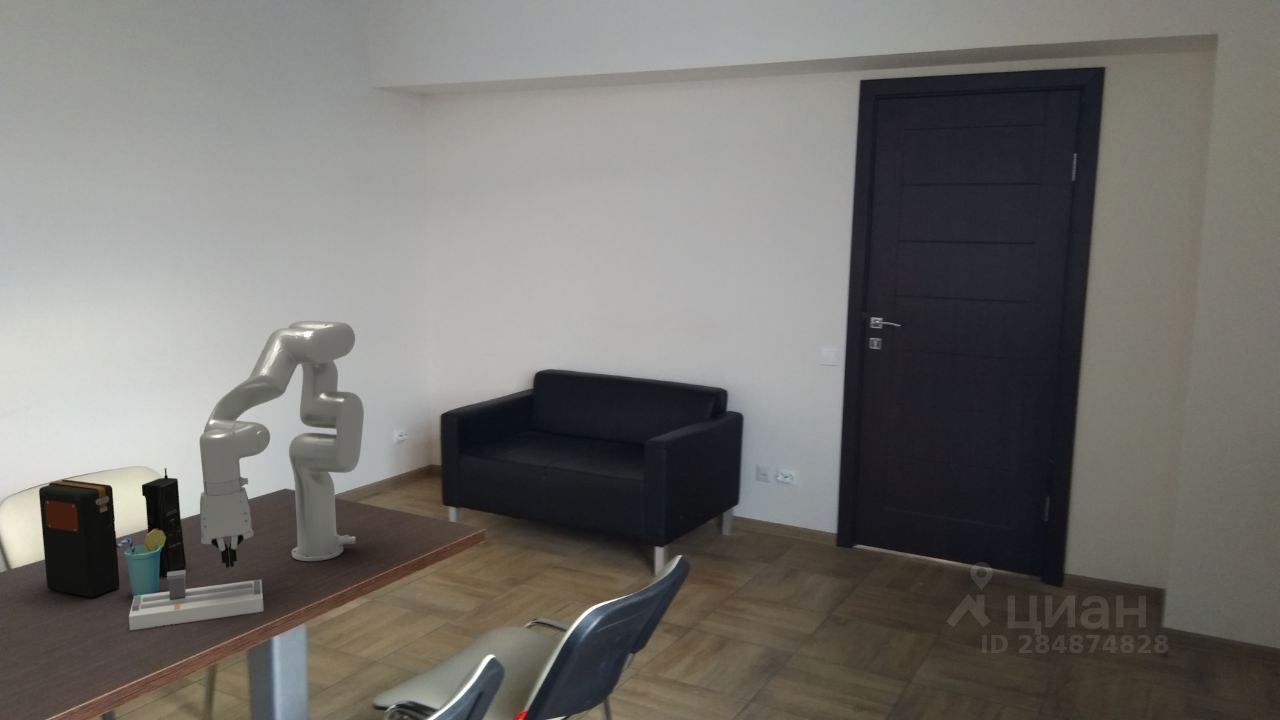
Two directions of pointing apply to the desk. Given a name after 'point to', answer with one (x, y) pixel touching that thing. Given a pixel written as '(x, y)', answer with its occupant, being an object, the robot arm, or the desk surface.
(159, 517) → the portable radio
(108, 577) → the black speaker
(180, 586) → the fader tab
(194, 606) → the slider track base
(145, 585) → the cup
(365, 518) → the desk surface
